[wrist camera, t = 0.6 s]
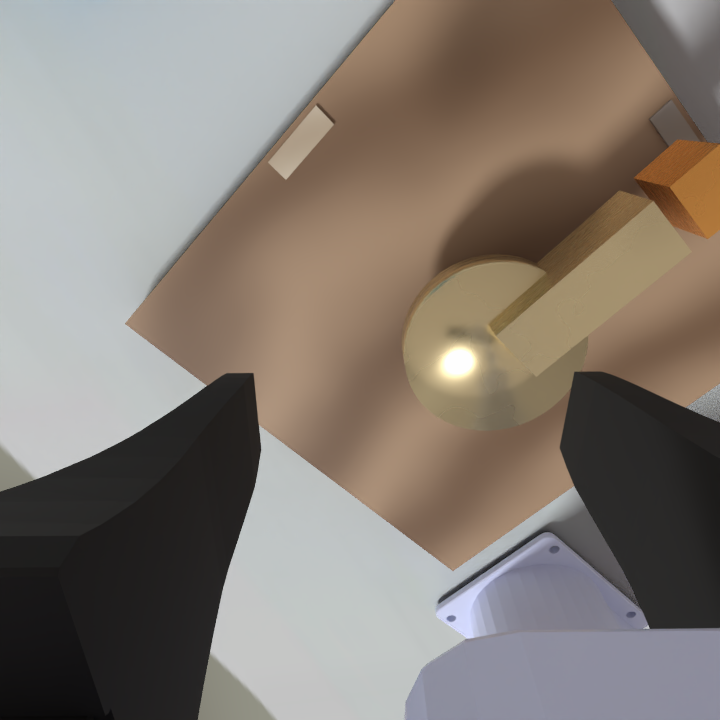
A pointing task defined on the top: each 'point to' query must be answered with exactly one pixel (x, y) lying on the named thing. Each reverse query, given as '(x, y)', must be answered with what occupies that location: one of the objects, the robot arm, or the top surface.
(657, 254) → the lever handle
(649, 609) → the robot arm
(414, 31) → the board
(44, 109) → the top surface
